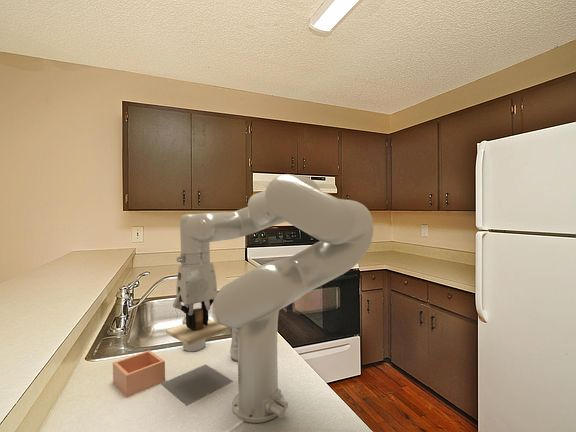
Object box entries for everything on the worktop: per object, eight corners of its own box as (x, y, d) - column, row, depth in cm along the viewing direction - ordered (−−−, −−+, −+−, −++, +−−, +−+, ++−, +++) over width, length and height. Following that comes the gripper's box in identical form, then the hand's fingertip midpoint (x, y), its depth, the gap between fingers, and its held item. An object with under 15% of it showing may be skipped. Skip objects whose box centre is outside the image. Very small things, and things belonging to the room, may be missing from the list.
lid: (228, 330, 83) (228, 308, 83) (188, 345, 74) (188, 321, 74) (204, 321, 91) (204, 301, 91) (166, 333, 82) (165, 311, 82)
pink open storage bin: (165, 382, 84) (164, 361, 84) (126, 399, 77) (126, 375, 77) (149, 370, 91) (149, 350, 91) (113, 384, 84) (112, 362, 83)
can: (197, 342, 110) (196, 309, 110) (209, 347, 106) (209, 313, 105) (178, 349, 104) (178, 314, 104) (191, 355, 100) (190, 319, 100)
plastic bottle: (240, 352, 102) (239, 293, 102) (255, 357, 98) (254, 296, 98) (225, 360, 97) (225, 297, 96) (241, 366, 93) (240, 301, 92)
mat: (233, 383, 83) (233, 381, 83) (186, 407, 73) (186, 405, 73) (205, 365, 93) (205, 364, 93) (160, 385, 83) (160, 383, 83)
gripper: (173, 264, 74) (175, 339, 74) (228, 256, 86) (230, 321, 86) (159, 262, 79) (161, 332, 79) (213, 254, 91) (215, 315, 91)
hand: (197, 325), depth 83 cm, fingers closed on lid, 3 cm apart
